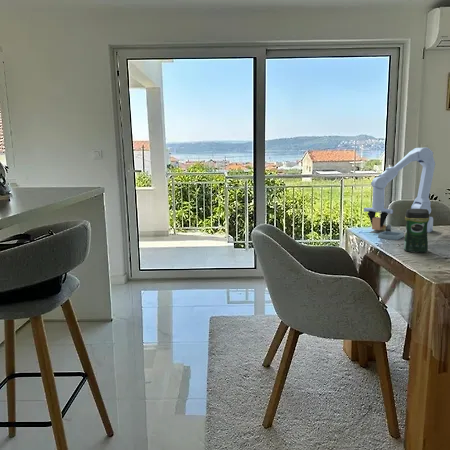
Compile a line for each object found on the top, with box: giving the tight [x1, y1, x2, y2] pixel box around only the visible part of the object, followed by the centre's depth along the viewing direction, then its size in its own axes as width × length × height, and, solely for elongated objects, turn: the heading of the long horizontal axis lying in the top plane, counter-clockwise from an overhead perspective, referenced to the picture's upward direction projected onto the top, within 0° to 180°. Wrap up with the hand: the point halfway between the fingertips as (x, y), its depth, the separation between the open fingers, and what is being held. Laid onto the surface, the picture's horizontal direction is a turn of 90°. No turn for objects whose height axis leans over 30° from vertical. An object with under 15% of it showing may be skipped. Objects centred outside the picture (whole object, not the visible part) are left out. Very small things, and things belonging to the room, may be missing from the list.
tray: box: [377, 231, 405, 241], centre depth 195 cm, size 9×9×3 cm
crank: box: [381, 223, 392, 231], centre depth 210 cm, size 9×3×5 cm, turn 48°
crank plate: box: [370, 228, 406, 234], centre depth 208 cm, size 14×14×1 cm
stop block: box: [371, 216, 383, 231], centre depth 208 cm, size 4×4×6 cm
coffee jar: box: [403, 208, 430, 253], centre depth 172 cm, size 10×8×19 cm
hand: (377, 226), depth 208 cm, fingers closed on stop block, 4 cm apart
